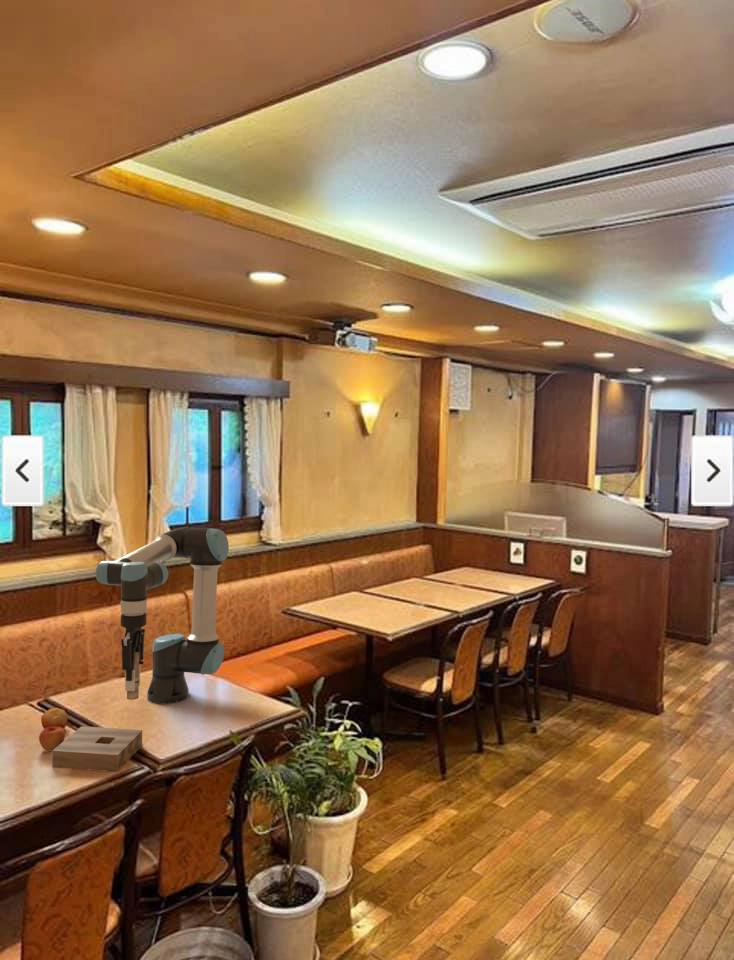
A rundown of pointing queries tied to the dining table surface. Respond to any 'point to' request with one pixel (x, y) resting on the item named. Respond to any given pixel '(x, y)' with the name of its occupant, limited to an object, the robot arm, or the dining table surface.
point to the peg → (135, 694)
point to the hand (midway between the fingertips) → (132, 687)
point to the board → (97, 748)
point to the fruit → (54, 718)
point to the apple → (51, 737)
